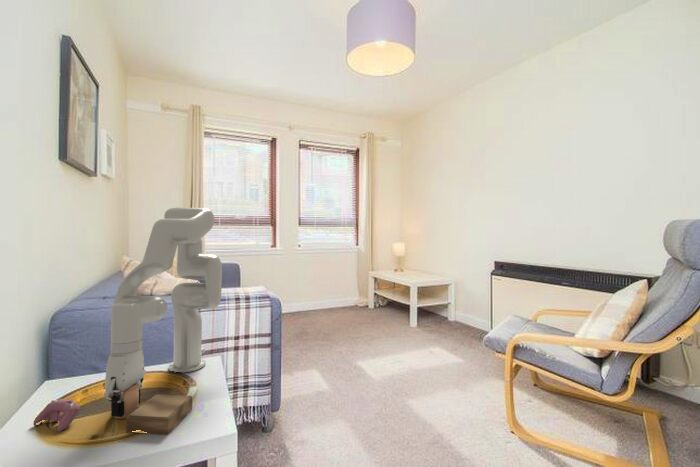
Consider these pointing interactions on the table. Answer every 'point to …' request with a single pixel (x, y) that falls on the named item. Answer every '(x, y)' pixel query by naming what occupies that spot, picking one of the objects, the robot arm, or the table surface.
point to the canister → (130, 400)
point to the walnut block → (159, 414)
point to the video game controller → (59, 413)
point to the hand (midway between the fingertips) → (126, 408)
